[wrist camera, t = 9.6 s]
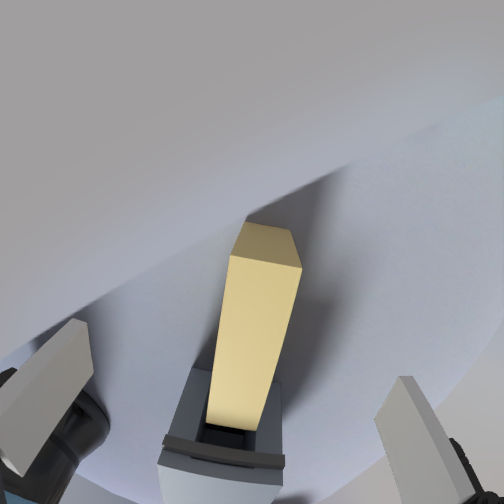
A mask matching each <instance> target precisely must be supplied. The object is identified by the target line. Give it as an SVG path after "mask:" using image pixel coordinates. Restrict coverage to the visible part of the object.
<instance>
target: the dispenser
mask: <svg viewBox="0 0 504 504" xmlns="http://www.w3.org/2000/svg"><path fill="white" fill-rule="evenodd" d="M211 379H212V372H211V371H206V370H202V369H197V368H193V367H192V368H191V371H190V373H189V376H188V379H187V382H186V384H185V387H184V390H183V393H182V395H181V398H180V401H179V404H178V406H177V409H176V412H175V415H174V418H173V420H172V423H171V426H170V429H169V432H168V435H167V434H166V435H165V437H164V440H163V443H162V452H161V455H160V457H159V460H158V463H157V467H158V475H159V482H160V489H161V495H162V501H163V504H271V503H272V501H273V500H274V498H275V497H276V495H277V494H278V492H279V491H280V489H281V488H282V486H283V469H284V467H285V455H282V413H281V383H274V382H271V385H270V389H269V392H268V395H267V398H266V401H265V405H264V408H263V411H262V414H261V417H260V420H259V423H258V426H257V429H256V431H252V430H245V433H244V435H239V434H232V433H227V432H221V431H216V430H211V429H206V428H205V425H206V416H207V409H208V401H209V394H210V387H211Z"/></svg>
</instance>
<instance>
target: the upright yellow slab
mask: <svg viewBox="0 0 504 504" xmlns="http://www.w3.org/2000/svg"><path fill="white" fill-rule="evenodd" d="M302 269H303V268H302V265H301V262H300V259H299V256H298V253H297V250H296V247H295V244H294V241H293V238H292V235H291V232H290V230H287V229H282V228H277V227H272V226H266V225H261V224H256V223H250V222H244V224H243V226H242V229H241V231H240V233H239V236H238V238H237V240H236V243H235V245H234V248H233V250H232V252H231V255H230V260H229V266H228V272H227V279H226V285H225V291H224V298H223V304H222V311H221V317H220V324H219V331H218V338H217V344H216V351H215V358H214V365H213V372H212V379H211V387H210V394H209V401H208V409H207V416H206V423H211V424H216V425H221V426H227V427H233V428H239V429H245V430H252V431H256V429H257V426H258V423H259V420H260V417H261V414H262V411H263V408H264V405H265V401H266V398H267V395H268V392H269V389H270V385H271V382H272V379H273V375H274V372H275V369H276V365H277V362H278V358H279V355H280V351H281V348H282V344H283V341H284V337H285V334H286V330H287V326H288V323H289V319H290V315H291V312H292V308H293V304H294V300H295V296H296V293H297V289H298V285H299V281H300V277H301V273H302Z"/></svg>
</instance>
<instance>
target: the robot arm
mask: <svg viewBox="0 0 504 504" xmlns="http://www.w3.org/2000/svg"><path fill="white" fill-rule="evenodd" d="M93 373H94V369H93V363H92V357H91V350H90V343H89V335H88V326H87V323H86V322H83V321H80V320H77V319H74V318H72V319H71V320H70V321H69V322H68V323H67V324H65V325H64V326H63V327H62V328H61V329H60V330H59V331H58V332H57V333H56V334H55V335H54V336H52V337H51V338H50V339H49V340H48V341H47V342H46V343H45V344H44V345H43V346H42V347H41V348H40V349H39V350H38V351H37V352H36V353H35V354H34V355H32V356H31V357H30V358H29V359H28V360H27V361H26V362H25V363H24V364H23V365H22V366H21V367H20V368H19V369H18V370H17V369H15V368H13V367H12V368H10V369H7V370H5V371H3V372H1V373H0V504H59V502H60V500H61V498H62V496H63V494H64V492H65V490H66V488H67V486H68V484H69V482H70V480H71V478H72V476H73V475H74V473H75V471H76V469H77V467H78V465H79V463H80V462H81V461H82V460H83V459H84V458H85V457H87V456H88V455H89V454H91V453H92V452H93V451H94V450H96V449H97V448H98V447H99V446H101V445H102V444H103V443H104V441H105V439H106V438H107V436H108V434H109V431H110V427H109V423H108V420H107V418H106V416H105V415H104V413H103V412H102V410H101V409H100V408H99V406H98V405H97V404H96V403H95V402H94V401H93V400H92V399H91V398H90V397H89V396H88V395H87V394H86V393H85V392H84V391H82V388H83V387H84V386H85V384H86V383H87V381H88V380H89V379H90V377H91V376H92V375H93ZM374 420H375V423H376V426H377V429H378V431H379V434H380V437H381V440H382V443H383V446H384V448H385V451H386V454H387V457H388V460H389V463H390V466H391V469H392V472H393V475H394V478H395V481H396V484H397V487H398V491H399V494H400V497H401V500H402V504H504V497H499V496H498V495H497V494H496V493H494V492H490V491H487V492H485V491H484V490H483V489H482V486H481V484H480V482H479V481H478V478H477V476H476V474H475V472H474V470H473V468H472V466H471V464H469V461H468V459H467V457H465V453H464V451H463V449H462V448H461V446H460V445H459V444H458V443H457V442H456V441H455V440H454V439H453V438H448V437H447V435H446V433H445V431H444V429H443V427H442V426H441V424H440V422H439V420H438V419H437V417H436V415H435V413H434V411H433V410H432V408H431V406H430V404H429V403H428V401H427V399H426V398H425V396H424V394H423V392H422V391H421V389H420V387H419V386H418V384H417V382H416V381H415V379H414V377H413V376H399V377H398V379H397V380H396V382H395V384H394V386H393V388H392V390H391V391H390V393H389V395H388V397H387V398H386V400H385V402H384V403H383V405H382V407H381V408H380V410H379V412H378V413H377V415H376V417H375V418H374Z"/></svg>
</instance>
